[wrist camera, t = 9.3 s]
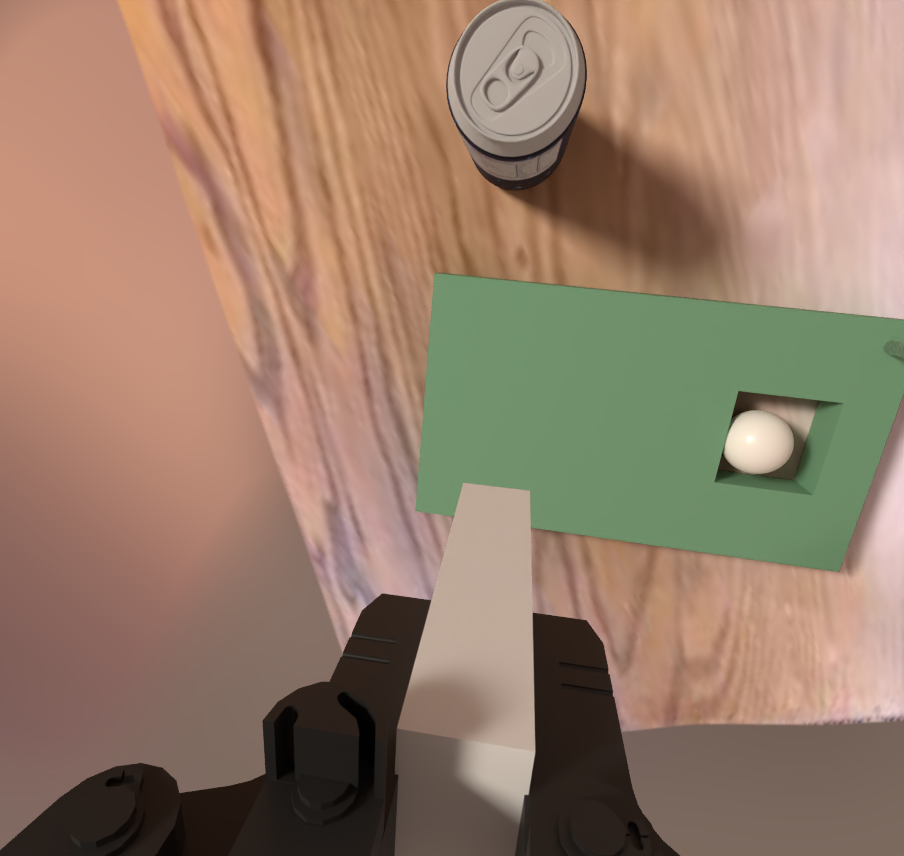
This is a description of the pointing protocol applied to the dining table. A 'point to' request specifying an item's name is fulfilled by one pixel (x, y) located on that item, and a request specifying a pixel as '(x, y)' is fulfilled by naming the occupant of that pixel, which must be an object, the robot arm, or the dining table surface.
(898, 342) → the flag pin
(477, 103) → the beverage can
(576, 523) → the putting mat
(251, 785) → the robot arm
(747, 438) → the ball
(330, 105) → the dining table surface
